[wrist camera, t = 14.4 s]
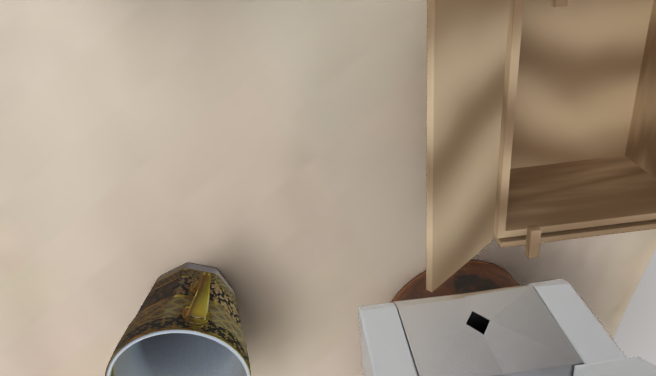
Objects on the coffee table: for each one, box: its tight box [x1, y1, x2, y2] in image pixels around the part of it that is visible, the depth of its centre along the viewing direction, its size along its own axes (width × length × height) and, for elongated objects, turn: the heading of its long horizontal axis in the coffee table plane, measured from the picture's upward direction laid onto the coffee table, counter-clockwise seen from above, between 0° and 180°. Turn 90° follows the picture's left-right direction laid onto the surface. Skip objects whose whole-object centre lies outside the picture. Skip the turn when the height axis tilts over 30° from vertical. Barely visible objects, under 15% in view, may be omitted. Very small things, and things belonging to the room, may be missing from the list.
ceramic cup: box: [105, 263, 251, 376], centre depth 44 cm, size 13×10×10 cm
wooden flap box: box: [493, 0, 656, 259], centre depth 37 cm, size 19×14×12 cm
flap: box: [426, 0, 510, 292], centre depth 32 cm, size 17×7×1 cm
